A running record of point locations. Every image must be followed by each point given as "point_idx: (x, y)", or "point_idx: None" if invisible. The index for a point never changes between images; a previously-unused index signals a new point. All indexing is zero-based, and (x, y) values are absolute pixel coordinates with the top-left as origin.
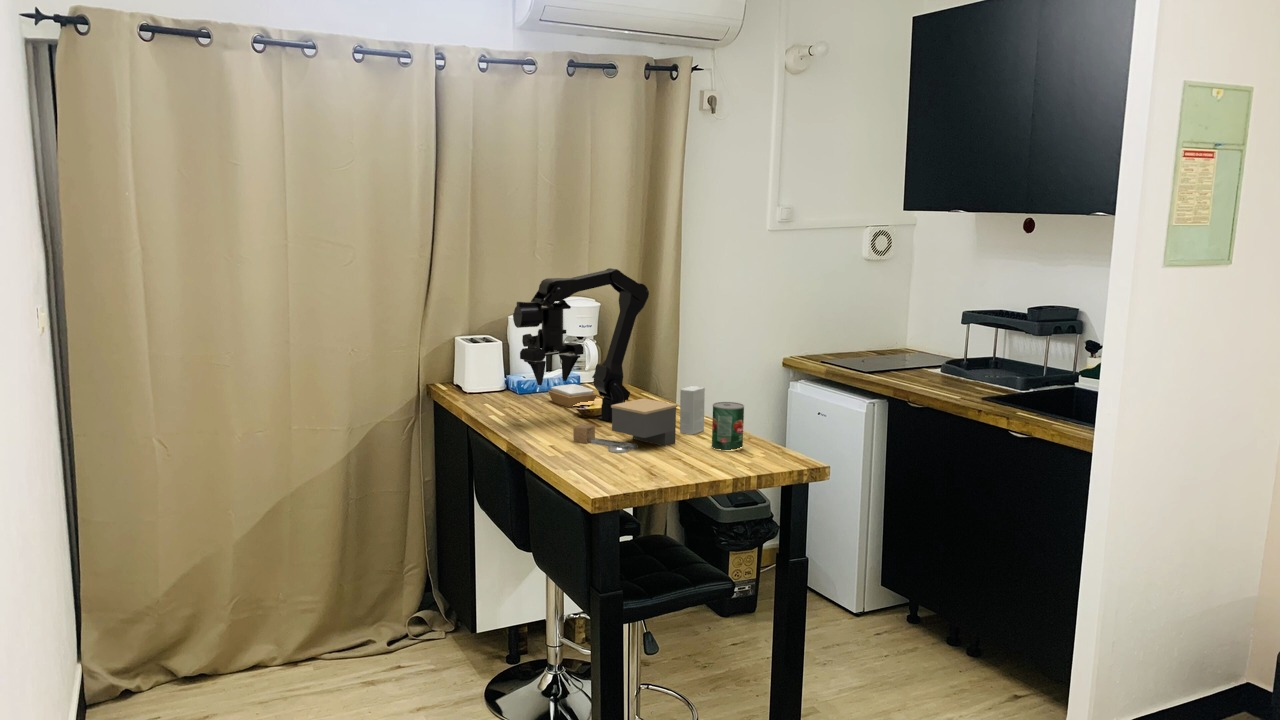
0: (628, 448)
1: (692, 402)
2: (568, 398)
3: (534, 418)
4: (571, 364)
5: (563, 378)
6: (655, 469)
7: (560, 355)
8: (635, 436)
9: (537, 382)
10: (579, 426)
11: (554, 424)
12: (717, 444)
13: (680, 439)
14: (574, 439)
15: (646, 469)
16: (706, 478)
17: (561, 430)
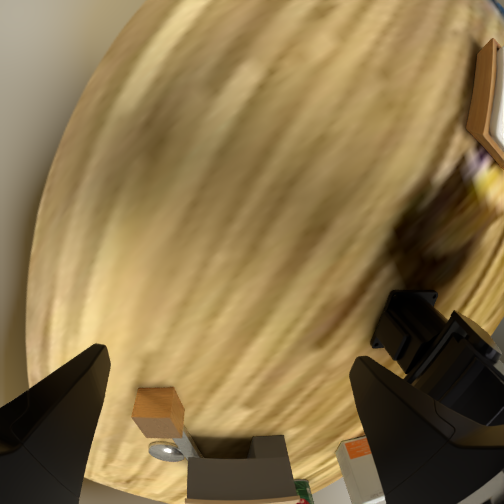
0: (176, 460)
1: (349, 494)
2: (481, 129)
3: (293, 101)
4: (385, 489)
5: (361, 371)
6: (142, 481)
7: (499, 465)
8: (252, 444)
9: (83, 355)
10: (145, 424)
11: (259, 230)
12: None
13: (298, 459)
14: (138, 394)
15: (134, 477)
16: (163, 500)
17: (203, 305)
